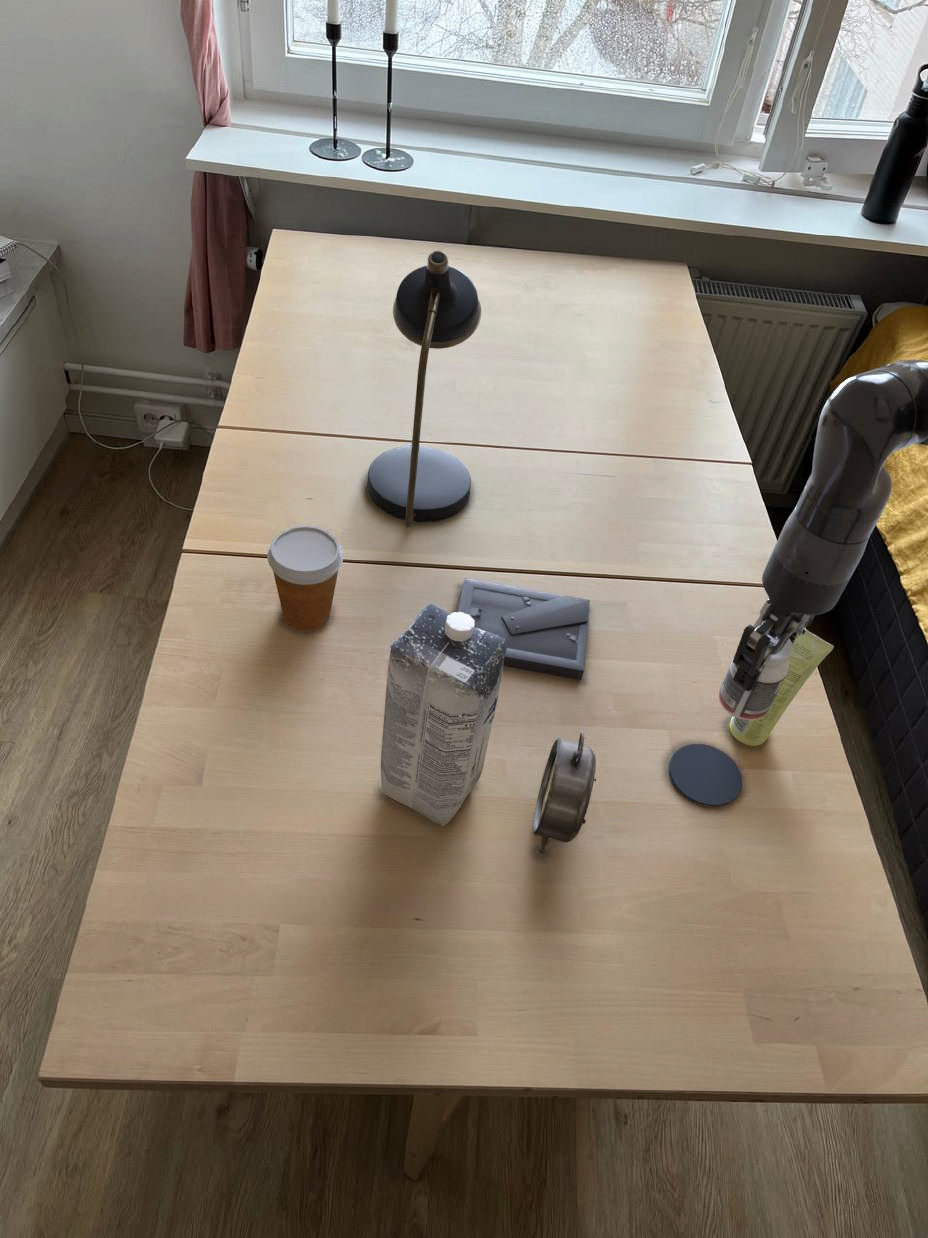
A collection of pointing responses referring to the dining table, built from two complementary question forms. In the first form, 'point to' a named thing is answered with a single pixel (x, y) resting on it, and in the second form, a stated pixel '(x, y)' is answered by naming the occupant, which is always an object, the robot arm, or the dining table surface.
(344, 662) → the dining table surface
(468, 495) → the lamp
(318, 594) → the disposable coffee cup
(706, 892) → the dining table surface
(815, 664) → the tube
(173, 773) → the dining table surface
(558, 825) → the alarm clock
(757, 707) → the pill bottle
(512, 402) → the dining table surface
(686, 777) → the coaster
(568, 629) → the picture frame
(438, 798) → the juice carton
